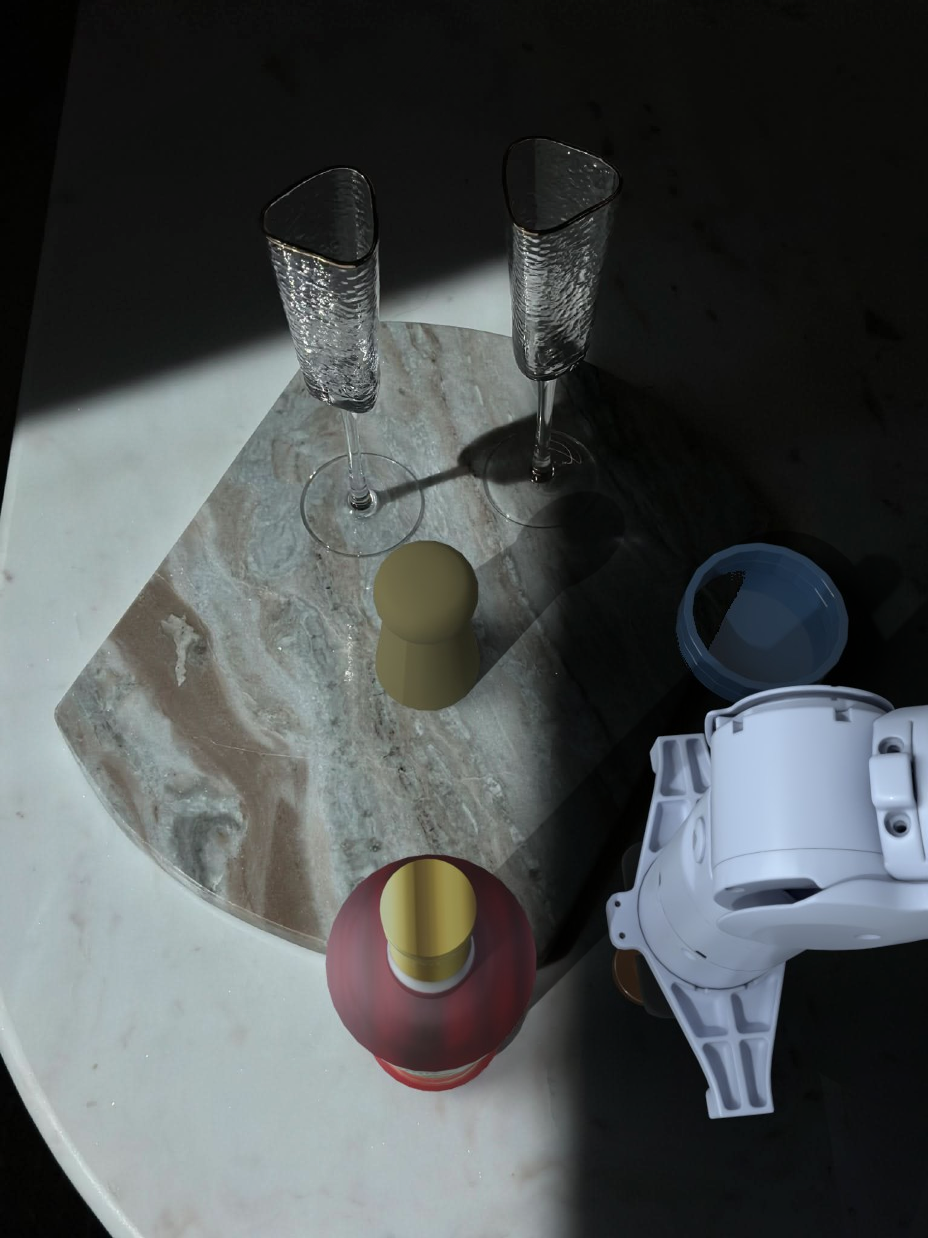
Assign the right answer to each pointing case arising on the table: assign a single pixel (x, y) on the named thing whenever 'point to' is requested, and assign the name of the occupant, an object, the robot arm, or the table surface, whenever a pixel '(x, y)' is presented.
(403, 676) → the cork
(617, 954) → the pestle
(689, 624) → the bowl
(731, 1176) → the table surface
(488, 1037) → the liquor
